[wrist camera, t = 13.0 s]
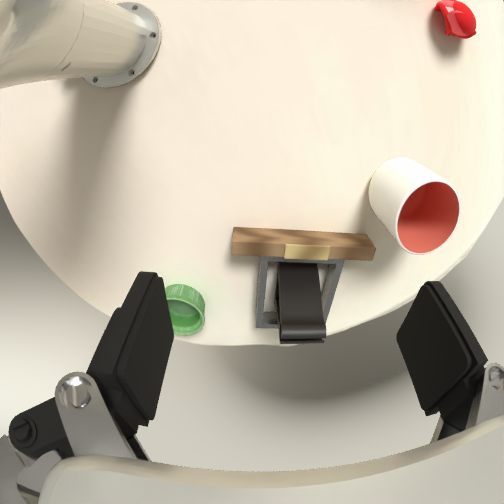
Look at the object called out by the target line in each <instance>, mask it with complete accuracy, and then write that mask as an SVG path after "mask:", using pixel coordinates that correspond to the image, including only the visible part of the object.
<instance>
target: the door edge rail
mask: <svg viewBox="0 0 504 504" xmlns="http://www.w3.org/2000/svg"><path fill="white" fill-rule="evenodd" d="M375 250H376V248H375V247H374V245H373V244H372V242H371V240H370V239H369V237H368V236H367V235H364V234H350V233H335V232H319V231H302V230H283V229H263V228H241V227H234V231H233V237H232V255H253V256H276V257H284V258H286V259H310V260H328V259H347V260H372V259H373V256H374V253H375Z"/></svg>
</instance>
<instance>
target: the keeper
mask: <svg viewBox="0 0 504 504" xmlns="http://www.w3.org/2000/svg"><path fill="white" fill-rule="evenodd" d="M268 261H276V262H301V263H327V264H329V268H328V272H327V276H326V280H325V284H324V288H323V292H322V296H321V299H322V308H323V317H324V322H325V323H326V320H327V317H328V314H329V311H330V308H331V304H332V301H333V298H334V294H335V291H336V288H337V284H338V281H339V277H340V274H341V270H342V266H343V263H344V259H328V260H310V259H286V258H284V257H276V256H260V267H259V280H258V294H257V307H256V328H278V322H277V316H276V312H263V309H264V299H265V289H266V279H267V268H268Z"/></svg>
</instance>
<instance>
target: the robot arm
mask: <svg viewBox="0 0 504 504" xmlns="http://www.w3.org/2000/svg"><path fill="white" fill-rule="evenodd" d="M137 8H138V9H137ZM136 9H137V10H136ZM154 35H156V37H155V38H154ZM160 41H161V26H160V23H159V20H158V18H157V16H156V15H155V13H154V12H153V11H151V10H150V9H149V8H147V7H146V6H144V5H142V4H139V3H134V2H123V3H118V4H114V3H111V2H109V1H107V0H0V89H2V88H6V87H10V86H14V85H19V84H24V83H31V82H38V81H46V80H55V79H65V78H79V77H83V78H84V79H85V80H86V81H87V82H89V83H90V84H92V85H95V86H97V87H105V88H107V87H116V86H120V85H123V84H126V83H128V82H130V81H132V80H133V79H135V78H136V77H138V76H139V75H140V74H141V73H143V71H144V70H145V69H146V68H147V67H148V66H149V65H150V63H151V62H152V60H153V59H154V57H155V55H156V53H157V51H158V48H159V45H160ZM133 71H134V74H133ZM97 79H98V81H97ZM173 339H174V330H173V325H172V321H171V317H170V312H169V307H168V302H167V298H166V293H165V287H164V282H163V278H162V277H158V275H157V273H155V272H142V271H141V272H139V273H138V275H137V277H136V279H135V281H134V283H133V285H132V287H131V289H130V291H129V293H128V294H127V296H126V298H125V301H124V303H123V305H122V307H121V308H117V309H116V310H115V311H114V313H113V315H112V317H111V319H110V321H109V323H108V325H107V328H106V330H105V331H104V334H103V336H102V338H101V340H100V343H99V345H98V347H97V349H96V351H95V354H94V356H93V358H92V360H91V363H90V365H89V367H88V370H87V372H86V373H83V372H73V373H69V374H67V375H66V376H64V377H63V378H62V379H61V380H60V381H59V383H58V385H57V386H56V390H55V397H53V398H51V399H49V400H47V401H45V402H43V403H41V404H39V405H37V406H35V407H33V408H31V409H28V410H26V411H24V412H22V413H20V414H19V415H17V416H15V417H14V419H13V420H12V421H11V423H10V426H9V436H6V435H3V436H2V437H1V438H0V504H504V368H503V367H502V366H500V365H499V364H497V363H491V364H489V365H488V366H487V367H486V368H484V365H485V363H486V362H487V361H488V359H487V357H486V355H485V354H484V352H483V350H482V348H481V346H480V345H479V343H478V341H477V339H476V337H475V336H474V334H473V332H472V330H471V329H470V327H469V325H468V324H467V322H466V320H465V319H464V317H463V316H462V314H461V313H460V311H459V309H458V307H457V306H456V304H455V303H454V301H453V300H452V299H451V297H450V295H449V294H448V292H447V291H446V289H445V288H444V286H443V285H442V284H441V283H440V282H439V281H428V282H425V283H424V285H423V286H421V288H420V290H419V292H418V294H417V296H416V298H415V300H414V302H413V304H412V306H411V308H410V310H409V312H408V314H407V316H406V318H405V320H404V322H403V324H402V325H401V327H400V329H399V331H398V333H397V343H398V345H399V348H400V350H401V353H402V355H403V358H404V360H405V363H406V365H407V368H408V371H409V374H410V377H411V379H412V382H413V385H414V388H415V391H416V394H417V397H418V400H419V403H420V406H421V408H422V409H423V410H424V411H425V414H426V416H429V415H432V414H436V413H437V412H438V411H440V414H441V415H440V418H439V421H438V423H437V426H436V429H435V432H434V434H433V437H432V440H431V442H430V444H428V445H425V446H422V447H419V448H415V449H412V450H409V451H405V452H402V453H398V454H395V455H391V456H387V457H383V458H379V459H374V460H369V461H364V462H359V463H354V464H348V465H342V466H335V467H328V468H319V469H310V470H297V471H279V472H243V471H224V470H210V469H200V468H190V467H183V466H175V465H169V464H163V463H157V462H152V461H151V460H150V458H149V457H148V455H147V454H146V452H145V450H144V449H143V447H142V445H141V444H140V442H139V440H138V439H137V437H136V435H135V434H136V433H137V430H138V425H142V426H147V427H148V423H149V420H153V419H154V417H155V413H156V409H157V404H158V400H159V396H160V391H161V387H162V383H163V379H164V374H165V370H166V366H167V362H168V358H169V354H170V351H171V346H172V343H173Z"/></svg>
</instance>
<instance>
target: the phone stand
mask: <svg viewBox="0 0 504 504" xmlns="http://www.w3.org/2000/svg"><path fill="white" fill-rule="evenodd" d="M275 310H276V316H277V322H278V328H279V339H280V344H304V343H324V340H322V338H326V325H325V322H324V317H323V308H322V299H321V291H320V282H319V275H318V267H317V263H301V262H278V273H277V284H276V294H275Z"/></svg>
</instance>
